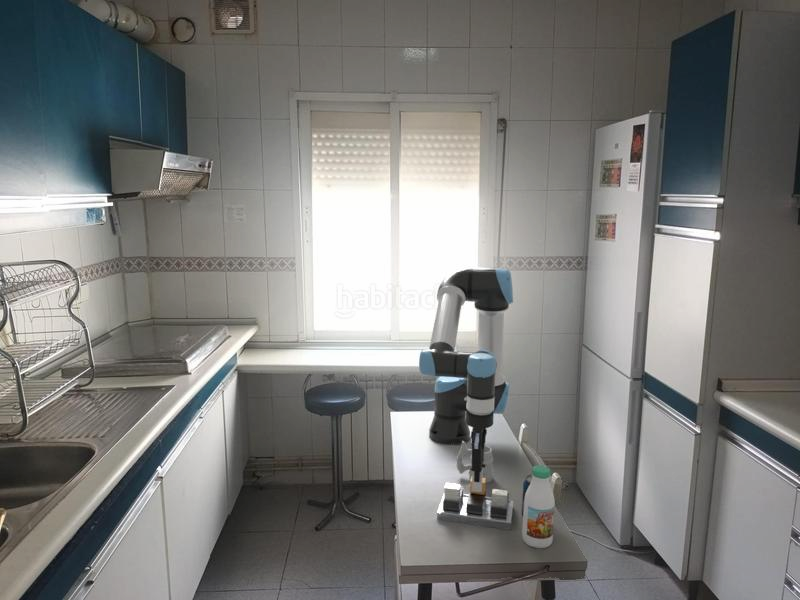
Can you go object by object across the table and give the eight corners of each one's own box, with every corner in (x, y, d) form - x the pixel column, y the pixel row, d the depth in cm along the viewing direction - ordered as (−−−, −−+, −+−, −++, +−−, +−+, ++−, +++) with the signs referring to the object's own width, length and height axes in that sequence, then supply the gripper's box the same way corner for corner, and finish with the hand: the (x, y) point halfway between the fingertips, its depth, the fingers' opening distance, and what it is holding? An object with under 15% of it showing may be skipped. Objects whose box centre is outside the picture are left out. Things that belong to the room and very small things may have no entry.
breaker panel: (444, 497, 171) (445, 470, 170) (513, 507, 167) (514, 479, 165) (437, 519, 160) (437, 490, 158) (510, 530, 155) (512, 500, 154)
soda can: (519, 512, 164) (521, 473, 162) (543, 513, 164) (546, 473, 162) (524, 526, 157) (526, 485, 155) (549, 526, 157) (552, 485, 155)
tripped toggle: (471, 488, 167) (471, 476, 166) (485, 489, 166) (485, 478, 165) (469, 492, 164) (470, 480, 163) (484, 494, 163) (484, 482, 162)
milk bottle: (516, 540, 151) (519, 468, 147) (532, 528, 156) (536, 459, 153) (542, 553, 145) (546, 478, 142) (558, 540, 151) (562, 468, 147)
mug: (493, 484, 180) (495, 448, 178) (455, 482, 181) (456, 446, 179) (492, 473, 187) (494, 438, 185) (455, 471, 188) (456, 436, 186)
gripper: (469, 401, 166) (466, 478, 170) (462, 417, 153) (460, 500, 157) (495, 403, 164) (492, 481, 168) (491, 420, 151) (488, 503, 155)
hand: (476, 490), depth 163 cm, fingers closed
